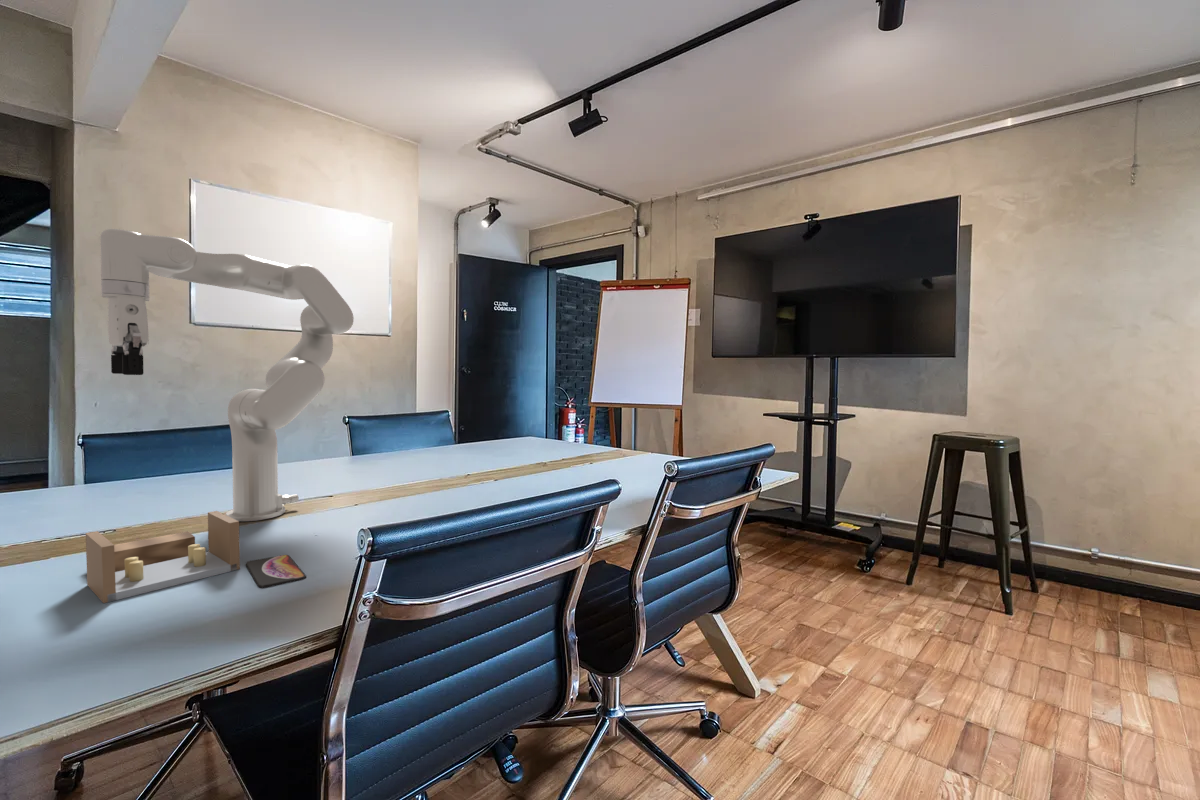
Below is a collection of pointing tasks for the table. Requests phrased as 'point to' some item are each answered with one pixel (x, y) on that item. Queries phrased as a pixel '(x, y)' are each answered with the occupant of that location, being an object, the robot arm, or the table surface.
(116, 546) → the shelf board
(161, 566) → the peg stand
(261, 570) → the smartphone
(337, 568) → the table surface
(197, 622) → the table surface
